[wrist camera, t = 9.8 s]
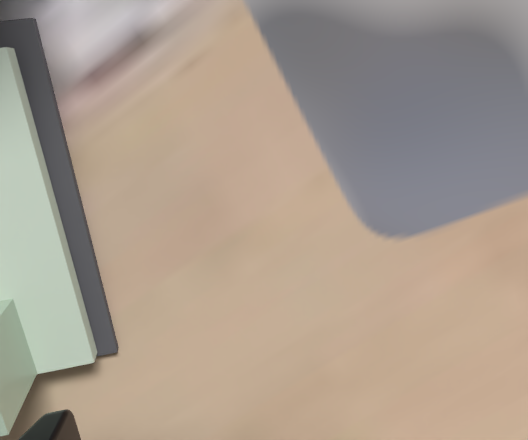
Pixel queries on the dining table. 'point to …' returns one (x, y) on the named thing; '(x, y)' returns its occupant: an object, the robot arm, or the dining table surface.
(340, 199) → the dining table surface
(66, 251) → the lid
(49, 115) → the mat
